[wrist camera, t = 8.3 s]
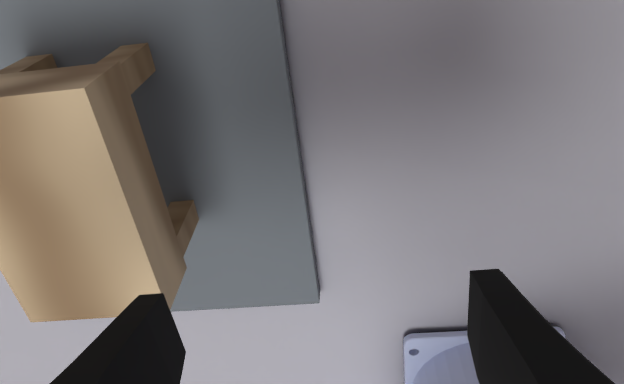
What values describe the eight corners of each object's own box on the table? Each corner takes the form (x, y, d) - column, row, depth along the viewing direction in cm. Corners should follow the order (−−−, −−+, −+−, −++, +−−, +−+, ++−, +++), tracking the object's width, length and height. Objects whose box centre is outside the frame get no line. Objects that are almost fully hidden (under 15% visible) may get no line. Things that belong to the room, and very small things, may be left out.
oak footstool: (151, 36, 17) (83, 87, 12) (204, 222, 21) (168, 313, 17) (18, 51, 18) (-95, 107, 13) (95, 231, 22) (30, 322, 17)
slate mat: (319, 291, 24) (319, 303, 23) (52, 307, 25) (44, 318, 25) (258, -149, 15) (254, -152, 14) (-158, -90, 16) (-180, -90, 15)
